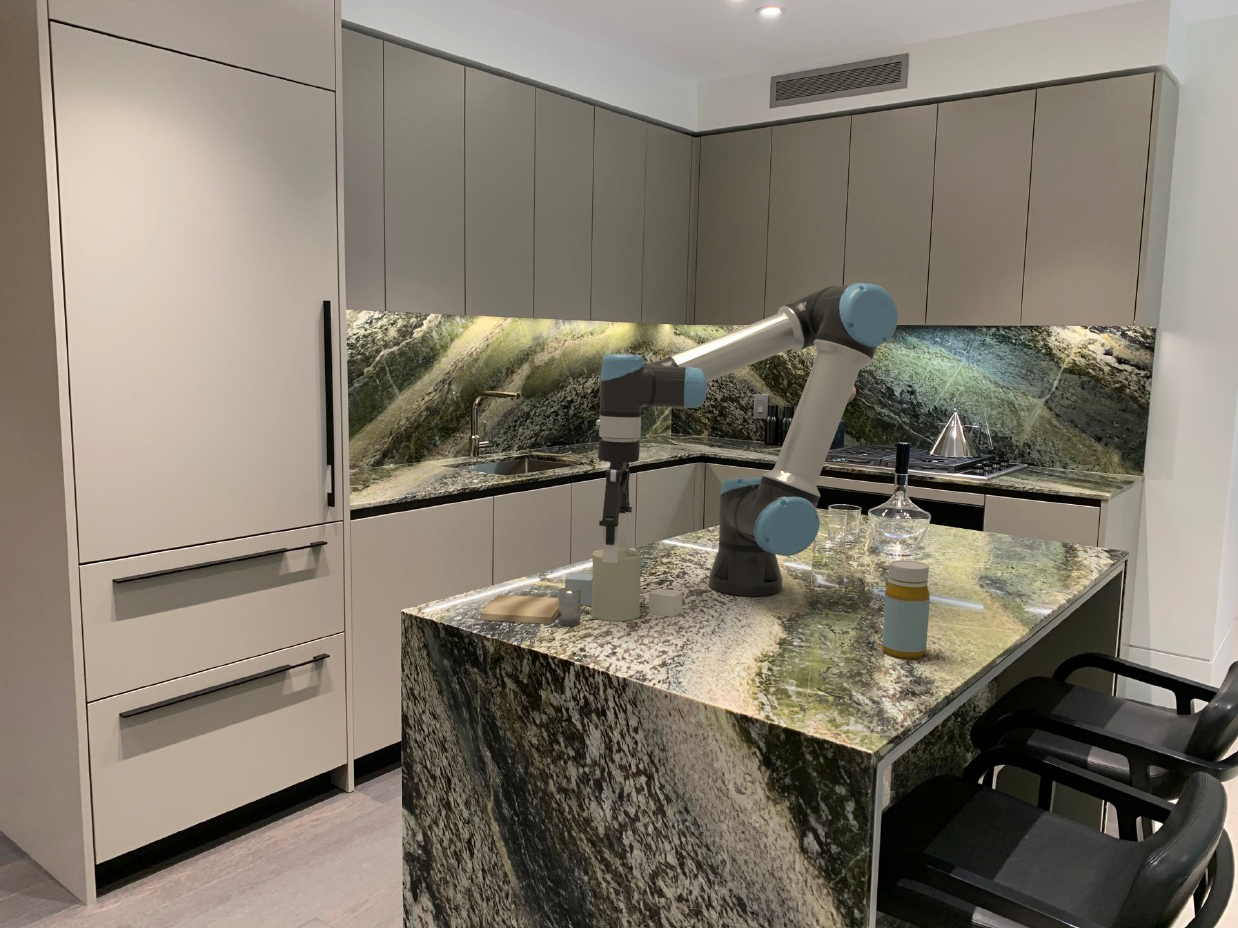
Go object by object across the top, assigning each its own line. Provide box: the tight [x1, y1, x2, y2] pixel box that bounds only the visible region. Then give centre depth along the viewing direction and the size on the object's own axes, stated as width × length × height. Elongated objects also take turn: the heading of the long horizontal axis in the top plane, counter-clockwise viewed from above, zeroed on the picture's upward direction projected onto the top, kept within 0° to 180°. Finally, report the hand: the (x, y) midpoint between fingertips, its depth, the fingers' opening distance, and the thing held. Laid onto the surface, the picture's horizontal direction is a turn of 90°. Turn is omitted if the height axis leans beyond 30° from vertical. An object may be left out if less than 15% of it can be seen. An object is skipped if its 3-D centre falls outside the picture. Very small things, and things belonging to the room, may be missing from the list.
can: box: [590, 547, 642, 622], centre depth 178 cm, size 9×9×12 cm
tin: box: [557, 587, 582, 627], centre depth 172 cm, size 4×4×6 cm
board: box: [479, 594, 558, 625], centre depth 179 cm, size 13×13×1 cm
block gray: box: [564, 572, 593, 606], centre depth 187 cm, size 5×5×5 cm
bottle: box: [881, 559, 930, 660], centre depth 159 cm, size 7×7×15 cm
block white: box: [648, 587, 683, 618], centre depth 180 cm, size 5×4×4 cm
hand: (614, 554), depth 177 cm, fingers open, 13 cm apart
